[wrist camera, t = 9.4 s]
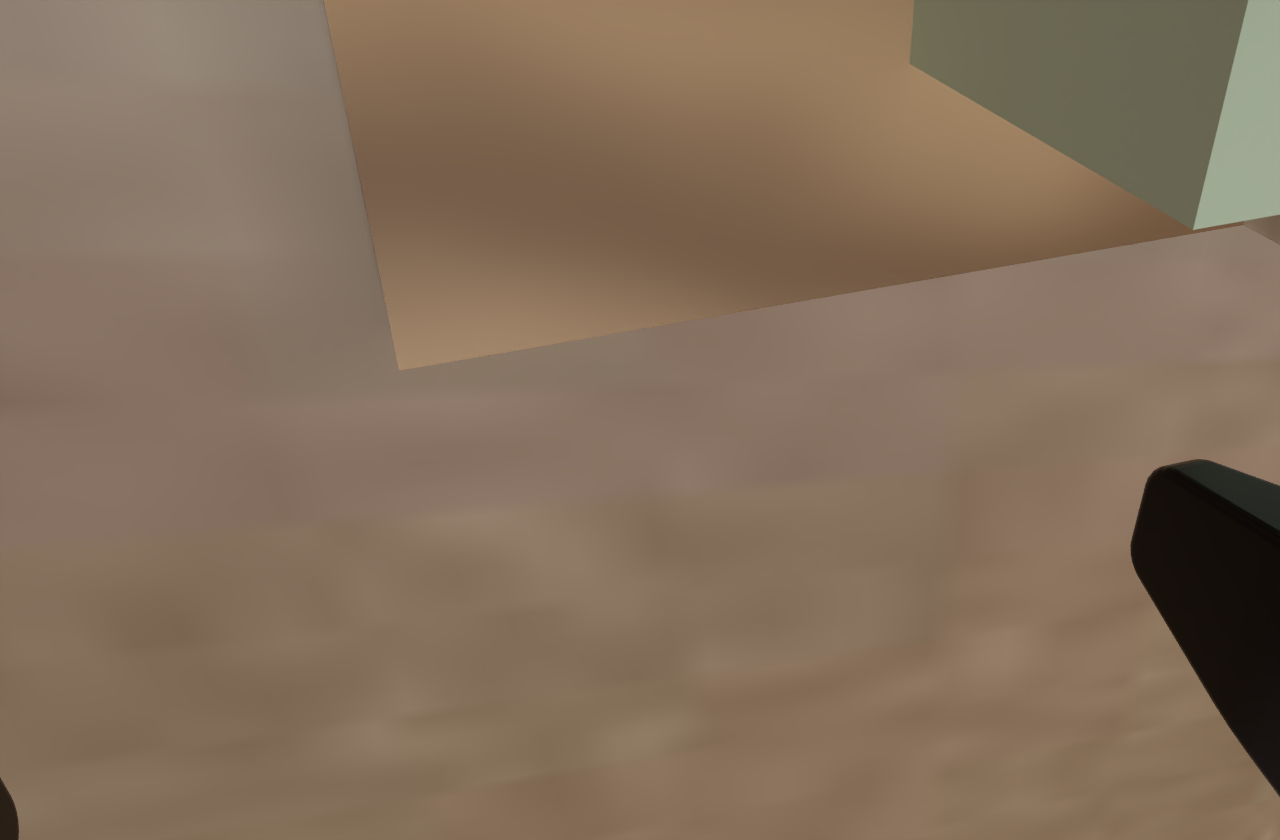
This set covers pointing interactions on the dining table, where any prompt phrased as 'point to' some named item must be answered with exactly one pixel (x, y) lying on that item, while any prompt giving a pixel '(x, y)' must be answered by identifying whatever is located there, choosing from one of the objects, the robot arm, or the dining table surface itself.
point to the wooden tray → (681, 165)
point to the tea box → (1128, 90)
